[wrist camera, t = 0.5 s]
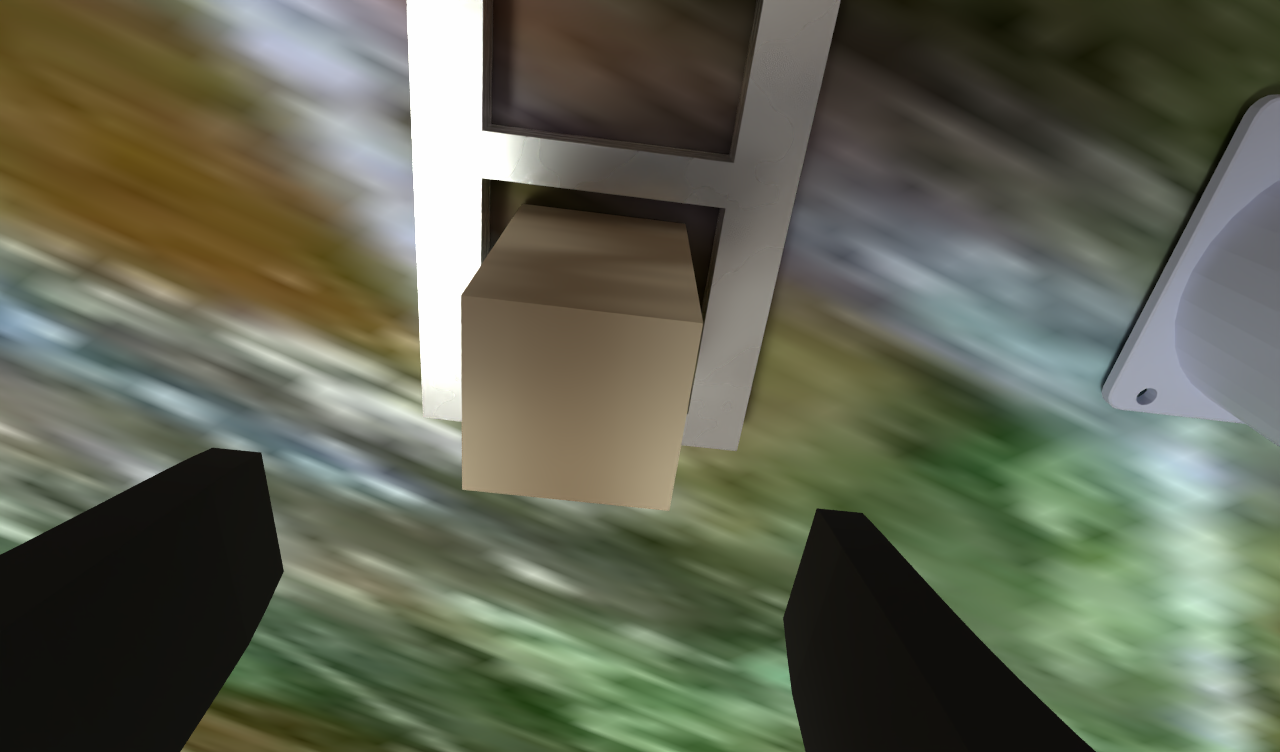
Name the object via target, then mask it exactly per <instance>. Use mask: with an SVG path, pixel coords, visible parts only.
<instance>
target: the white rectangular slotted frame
mask: <svg viewBox="0 0 1280 752" xmlns="http://www.w3.org/2000/svg"><path fill="white" fill-rule="evenodd" d="M840 1H841V0H757V1H756V7H755V12H754V18H753V23H752V29H751V35H750V40H749V46H748V51H747V57H746V63H745V68H744V74H743V80H742V85H741V91H740V96H739V102H738V108H737V113H736V119H735V124H734V130H733V136H732V141H731V147H730V152H729V155H728V154H720V153H712V152H704V151H696V150H689V149H681V148H673V147H665V146H658V145H650V144H642V143H634V142H627V141H619V140H611V139H603V138H595V137H588V136H580V135H572V134H564V133H557V132H549V131H541V130H533V129H525V128H518V127H510V126H502V125H494V124H491V120H492V50H493V0H407V21H408V47H409V72H410V97H411V123H412V148H413V173H414V199H415V224H416V249H417V275H418V300H419V326H420V351H421V376H422V402H423V417H425V418H434V419H443V420H453V421H462V388H461V294H462V293H463V291H464V290H465V288H466V287H467V285H468V284H469V282H470V281H471V279H472V278H473V276H474V275H475V273H476V272H477V270H478V269H479V267H480V266H481V264H482V263H483V261H484V260H485V258H486V257H487V255H488V254H489V252H490V189H491V179H494V180H502V181H510V182H518V183H526V184H534V185H542V186H550V187H558V188H566V189H574V190H582V191H590V192H598V193H606V194H614V195H622V196H630V197H639V198H647V199H655V200H663V201H671V202H679V203H687V204H695V205H703V206H711V207H719V214H718V220H717V225H716V231H715V237H714V242H713V248H712V253H711V259H710V265H709V270H708V276H707V281H706V287H705V293H704V298H703V304H702V309H701V314H702V319H703V327H702V333H701V338H700V344H699V349H698V355H697V360H696V366H695V371H694V377H693V382H692V388H691V393H690V399H689V404H688V410H687V415H686V421H685V426H684V432H683V437H682V443H681V445H686V446H695V447H704V448H714V449H723V450H732V451H737V448H738V443H739V439H740V435H741V430H742V426H743V422H744V417H745V413H746V409H747V404H748V400H749V396H750V391H751V387H752V383H753V378H754V374H755V370H756V365H757V361H758V357H759V352H760V348H761V344H762V339H763V335H764V331H765V326H766V322H767V318H768V313H769V309H770V305H771V300H772V296H773V292H774V287H775V283H776V279H777V274H778V270H779V266H780V261H781V257H782V253H783V248H784V244H785V240H786V235H787V231H788V227H789V222H790V218H791V214H792V209H793V205H794V201H795V196H796V192H797V188H798V183H799V179H800V175H801V170H802V166H803V162H804V157H805V153H806V149H807V144H808V140H809V136H810V131H811V127H812V123H813V118H814V114H815V109H816V105H817V101H818V96H819V92H820V88H821V83H822V79H823V75H824V70H825V66H826V62H827V57H828V53H829V49H830V44H831V40H832V36H833V31H834V27H835V23H836V18H837V14H838V10H839V5H840Z"/></svg>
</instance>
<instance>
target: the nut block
mask: <svg viewBox="0 0 1280 752" xmlns="http://www.w3.org/2000/svg"><path fill="white" fill-rule="evenodd" d="M702 327H703V319H702V314H701V308H700V303H699V297H698V291H697V286H696V280H695V274H694V269H693V263H692V258H691V252H690V246H689V241H688V235H687V230H686V224H683V223H675V222H666V221H658V220H650V219H642V218H634V217H626V216H618V215H610V214H602V213H593V212H585V211H577V210H569V209H561V208H553V207H545V206H537V205H529V204H521V206H520V207H519V209H518V210H517V212H516V213H515V215H514V216H513V218H512V219H511V221H510V222H509V224H508V225H507V227H506V228H505V230H504V231H503V233H502V234H501V236H500V237H499V239H498V240H497V242H496V243H495V245H494V246H493V248H492V249H491V251H490V252H489V254H488V255H487V257H486V258H485V260H484V261H483V263H482V264H481V266H480V267H479V269H478V270H477V272H476V273H475V275H474V276H473V278H472V279H471V281H470V282H469V284H468V285H467V287H466V288H465V290H464V291H463V293H462V294H461V388H462V490H472V491H481V492H491V493H501V494H511V495H520V496H530V497H540V498H550V499H560V500H569V501H579V502H589V503H599V504H608V505H618V506H628V507H638V508H647V509H657V510H667V511H669V509H670V504H671V498H672V493H673V487H674V482H675V476H676V470H677V465H678V459H679V454H680V448H681V443H682V437H683V432H684V426H685V421H686V415H687V410H688V404H689V399H690V393H691V388H692V382H693V377H694V371H695V366H696V360H697V355H698V349H699V344H700V338H701V333H702Z"/></svg>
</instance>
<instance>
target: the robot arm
mask: <svg viewBox="0 0 1280 752" xmlns="http://www.w3.org/2000/svg"><path fill="white" fill-rule="evenodd" d="M1144 389H1147V391H1146V392H1145V393H1144V394H1143V395H1141V396H1139V397H1137V395H1138V394H1139V393H1140V392H1141V391H1143V390H1144ZM1102 397H1103V399H1104V400H1105V401H1106V402H1107V403H1109V404H1110V405H1111V406H1112V407H1113V408H1116V409H1120V410H1129V411H1138V412H1146V413H1155V414H1164V415H1173V416H1182V417H1191V418H1199V419H1208V420H1217V421H1226V422H1235V423H1243V424H1247V425H1248V426H1249V427H1251V428H1252V429H1254V430H1255V431H1257V432H1258V433H1260V434H1261V435H1263V436H1264V437H1266V438H1267V439H1268V440H1270V441H1271V442H1273V443H1274V444H1276V445H1277V446H1279V447H1280V95H1279V94H1276V95H1268V96H1265V97H1263V98H1261V99H1259V100H1258V101H1256V102H1255V103H1254V104H1253V105H1251V106H1250V107H1249V109H1248V110H1247V112H1246V113H1245V114H1244V116H1243V118H1242V120H1241V122H1240V124H1239V126H1238V128H1237V130H1236V132H1235V133H1234V135H1233V137H1232V139H1231V141H1230V143H1229V145H1228V147H1227V149H1226V151H1225V153H1224V155H1223V157H1222V159H1221V160H1220V162H1219V164H1218V166H1217V168H1216V170H1215V172H1214V174H1213V176H1212V178H1211V180H1210V182H1209V184H1208V186H1207V187H1206V189H1205V191H1204V193H1203V195H1202V197H1201V199H1200V201H1199V203H1198V205H1197V207H1196V209H1195V211H1194V212H1193V214H1192V216H1191V218H1190V220H1189V222H1188V224H1187V226H1186V228H1185V230H1184V232H1183V234H1182V236H1181V238H1180V239H1179V241H1178V243H1177V245H1176V247H1175V249H1174V251H1173V253H1172V255H1171V257H1170V259H1169V261H1168V263H1167V265H1166V266H1165V268H1164V270H1163V272H1162V274H1161V276H1160V278H1159V280H1158V282H1157V284H1156V286H1155V288H1154V290H1153V292H1152V293H1151V295H1150V297H1149V299H1148V301H1147V303H1146V305H1145V307H1144V309H1143V311H1142V313H1141V315H1140V317H1139V319H1138V320H1137V322H1136V324H1135V326H1134V328H1133V330H1132V332H1131V334H1130V336H1129V338H1128V340H1127V342H1126V344H1125V346H1124V347H1123V349H1122V351H1121V353H1120V355H1119V357H1118V359H1117V361H1116V363H1115V365H1114V367H1113V369H1112V371H1111V373H1110V374H1109V376H1108V378H1107V380H1106V382H1105V384H1104V386H1103V389H1102ZM283 572H284V570H283V565H282V559H281V554H280V549H279V544H278V538H277V533H276V528H275V523H274V517H273V512H272V507H271V502H270V496H269V491H268V486H267V480H266V475H265V470H264V465H263V459H262V454H261V453H260V452H250V451H240V450H230V449H220V448H211V449H209V450H207V451H204V452H202V453H200V454H198V455H195V456H193V457H191V458H189V459H187V460H185V461H183V462H181V463H179V464H177V465H175V466H173V467H171V468H169V469H167V470H165V471H163V472H161V473H159V474H157V475H155V476H153V477H151V478H149V479H147V480H145V481H143V482H141V483H139V484H137V485H135V486H133V487H131V488H130V489H128V490H126V491H124V492H122V493H120V494H118V495H116V496H114V497H112V498H110V499H108V500H106V501H105V502H103V503H101V504H99V505H97V506H95V507H93V508H91V509H89V510H87V511H85V512H83V513H81V514H79V515H77V516H75V517H74V518H72V519H70V520H68V521H66V522H64V523H62V524H60V525H58V526H56V527H54V528H52V529H50V530H48V531H46V532H44V533H42V534H41V535H39V536H37V537H35V538H33V539H31V540H29V541H27V542H25V543H23V544H21V545H19V546H17V547H15V548H13V549H11V550H9V551H7V552H5V553H3V554H1V555H0V752H180V751H181V750H182V748H183V747H184V745H185V744H186V742H187V741H188V739H189V737H190V736H191V734H192V733H193V731H194V730H195V728H196V727H197V725H198V724H199V722H200V721H201V719H202V717H203V716H204V714H205V713H206V711H207V710H208V708H209V707H210V705H211V704H212V702H213V700H214V699H215V697H216V696H217V694H218V693H219V691H220V689H221V688H222V686H223V685H224V683H225V682H226V680H227V678H228V677H229V675H230V674H231V672H232V671H233V669H234V667H235V666H236V664H237V663H238V661H239V659H240V658H241V656H242V655H243V653H244V651H245V650H246V648H247V647H248V645H249V643H250V641H251V639H252V637H253V635H254V633H255V631H256V629H257V627H258V625H259V623H260V621H261V619H262V617H263V615H264V613H265V611H266V609H267V607H268V604H269V602H270V600H271V598H272V596H273V594H274V591H275V589H276V587H277V585H278V583H279V581H280V578H281V576H282V574H283ZM783 620H784V630H785V639H786V648H787V658H788V666H789V673H790V681H791V689H792V695H793V700H794V704H795V708H796V713H797V717H798V721H799V726H800V730H801V734H802V738H803V743H804V747H805V751H806V752H1096V751H1094V750H1093V749H1092V748H1091V747H1090V746H1089V745H1088V744H1087V743H1086V742H1085V741H1083V740H1082V739H1081V738H1080V737H1079V736H1078V735H1077V734H1076V733H1075V732H1074V731H1073V730H1072V729H1070V728H1069V727H1068V726H1067V725H1066V724H1065V723H1064V722H1063V721H1062V720H1061V719H1060V718H1059V717H1058V716H1057V715H1056V714H1055V713H1054V712H1053V711H1052V710H1051V709H1050V708H1049V707H1048V706H1047V705H1045V704H1044V703H1043V702H1042V701H1041V700H1040V699H1039V698H1038V697H1037V696H1036V695H1035V694H1034V693H1033V692H1032V691H1031V690H1030V689H1029V688H1028V687H1027V686H1026V685H1025V684H1024V683H1023V682H1022V681H1021V680H1020V679H1019V678H1018V677H1017V676H1016V675H1015V674H1014V673H1013V672H1012V671H1011V670H1010V669H1009V668H1008V667H1007V666H1006V665H1005V664H1004V663H1003V662H1002V661H1001V660H1000V659H999V658H998V657H997V656H996V655H995V654H994V653H993V652H992V651H991V650H990V649H989V648H988V647H987V646H986V645H985V644H984V643H983V642H982V641H981V640H980V639H979V638H978V637H977V636H976V635H975V634H974V633H973V632H972V631H971V629H970V628H969V627H968V626H967V625H966V624H965V623H964V622H963V621H962V620H961V619H960V618H959V617H958V616H957V615H956V614H955V613H954V612H953V610H952V609H951V608H950V607H949V606H948V605H947V604H946V603H945V602H944V601H943V600H942V599H941V598H940V596H939V595H938V594H937V593H936V592H935V591H934V590H933V589H932V588H931V587H930V586H929V585H928V583H927V582H926V581H925V580H924V579H923V578H922V577H921V576H920V575H919V574H918V572H917V571H916V570H915V569H914V568H913V567H912V566H911V565H910V564H909V563H908V562H907V560H906V559H905V558H904V557H903V556H902V555H901V554H900V553H899V552H898V551H897V549H896V548H895V547H894V546H893V545H892V544H891V543H890V542H889V541H888V540H887V538H886V537H885V536H884V535H883V534H882V533H881V532H880V531H879V530H878V529H877V528H876V527H875V526H874V524H873V523H872V522H871V521H870V520H869V519H868V518H867V517H866V516H865V515H864V514H863V513H857V512H847V511H837V510H827V509H817V510H816V513H815V516H814V520H813V523H812V526H811V529H810V533H809V536H808V539H807V542H806V546H805V549H804V552H803V555H802V559H801V562H800V565H799V568H798V572H797V575H796V578H795V581H794V585H793V588H792V591H791V595H790V598H789V601H788V604H787V608H786V611H785V614H784V617H783Z"/></svg>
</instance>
